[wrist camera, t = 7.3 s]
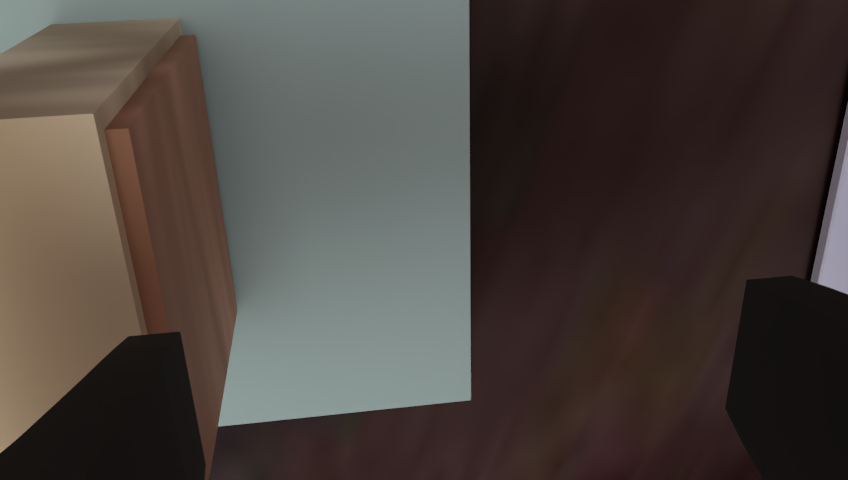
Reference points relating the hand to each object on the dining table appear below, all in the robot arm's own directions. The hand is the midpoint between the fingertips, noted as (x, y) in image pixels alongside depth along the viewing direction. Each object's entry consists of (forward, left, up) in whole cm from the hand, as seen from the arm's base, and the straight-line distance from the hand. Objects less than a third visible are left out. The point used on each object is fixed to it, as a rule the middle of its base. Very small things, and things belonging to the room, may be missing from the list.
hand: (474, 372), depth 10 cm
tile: (+6, 0, -9) cm, 10 cm away
